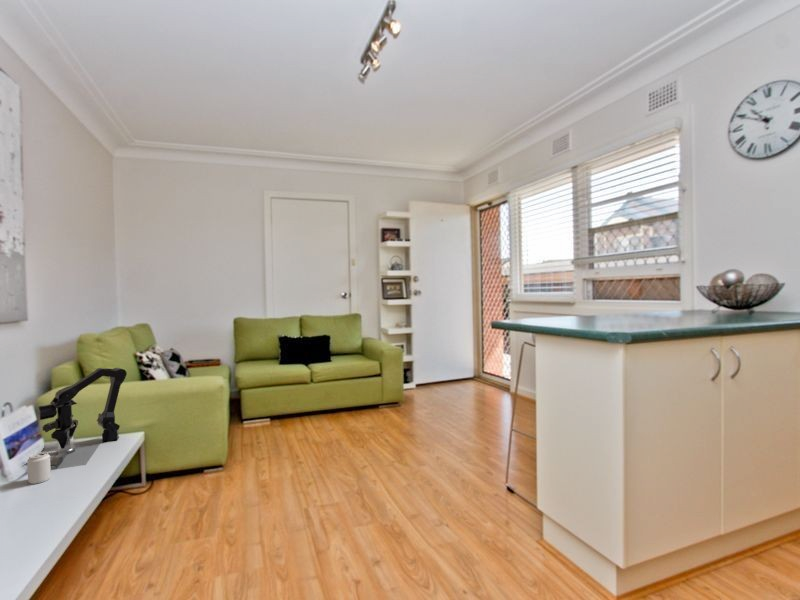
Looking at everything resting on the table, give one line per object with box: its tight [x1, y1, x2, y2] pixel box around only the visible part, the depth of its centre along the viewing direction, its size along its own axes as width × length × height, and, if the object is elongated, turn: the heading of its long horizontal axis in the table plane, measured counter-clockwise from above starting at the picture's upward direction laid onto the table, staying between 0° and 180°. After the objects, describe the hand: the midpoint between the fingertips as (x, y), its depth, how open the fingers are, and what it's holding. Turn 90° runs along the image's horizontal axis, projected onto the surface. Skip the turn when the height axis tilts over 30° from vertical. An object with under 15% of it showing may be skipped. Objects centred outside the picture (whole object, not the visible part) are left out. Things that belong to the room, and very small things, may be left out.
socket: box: [57, 435, 75, 451], centre depth 208 cm, size 5×5×5 cm
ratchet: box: [50, 445, 76, 471], centre depth 200 cm, size 7×24×4 cm, turn 24°
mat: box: [50, 442, 102, 470], centre depth 203 cm, size 18×28×1 cm, turn 24°
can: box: [26, 451, 52, 485], centre depth 179 cm, size 8×8×12 cm
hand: (66, 445), depth 208 cm, fingers open, 9 cm apart
